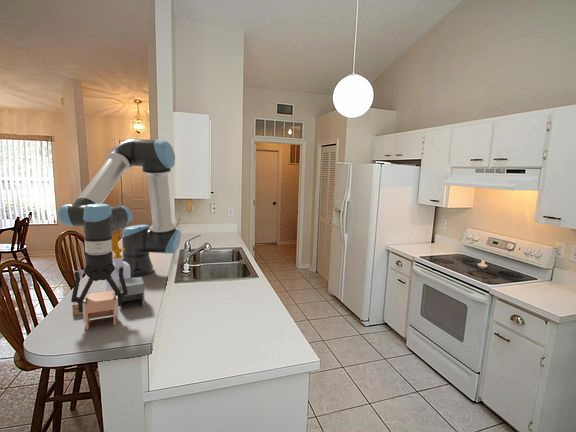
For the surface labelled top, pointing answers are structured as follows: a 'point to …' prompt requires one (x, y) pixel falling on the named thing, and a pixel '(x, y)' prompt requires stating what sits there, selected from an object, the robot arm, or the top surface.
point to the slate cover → (133, 289)
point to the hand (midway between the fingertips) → (101, 317)
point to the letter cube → (76, 309)
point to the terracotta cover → (100, 305)
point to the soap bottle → (118, 263)
